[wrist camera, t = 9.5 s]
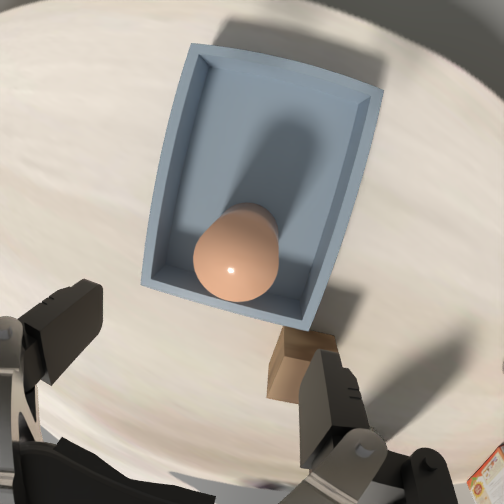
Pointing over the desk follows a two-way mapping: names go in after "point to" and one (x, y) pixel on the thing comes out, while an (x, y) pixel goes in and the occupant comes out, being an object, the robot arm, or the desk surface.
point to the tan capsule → (239, 253)
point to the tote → (259, 172)
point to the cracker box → (489, 480)
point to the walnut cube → (294, 361)
